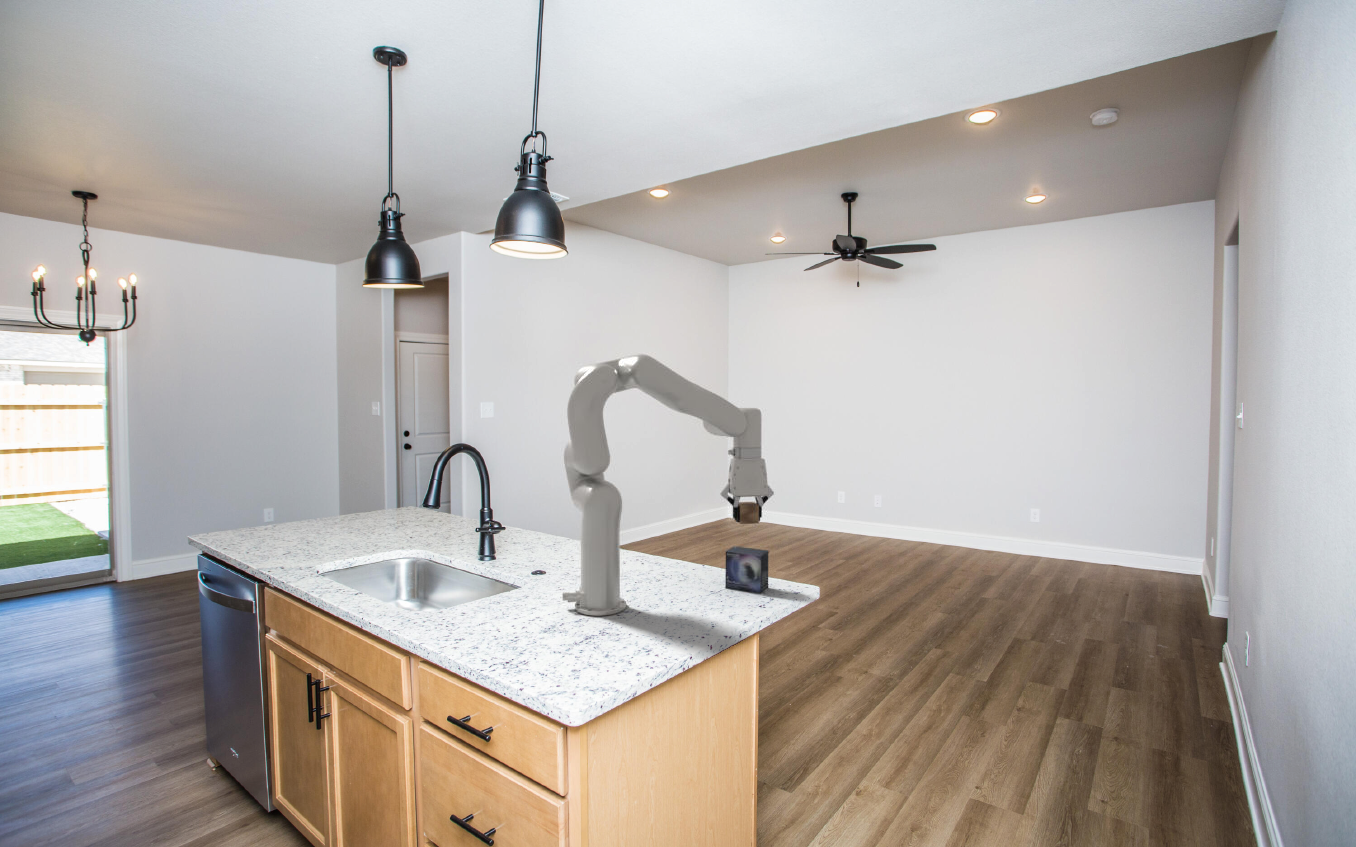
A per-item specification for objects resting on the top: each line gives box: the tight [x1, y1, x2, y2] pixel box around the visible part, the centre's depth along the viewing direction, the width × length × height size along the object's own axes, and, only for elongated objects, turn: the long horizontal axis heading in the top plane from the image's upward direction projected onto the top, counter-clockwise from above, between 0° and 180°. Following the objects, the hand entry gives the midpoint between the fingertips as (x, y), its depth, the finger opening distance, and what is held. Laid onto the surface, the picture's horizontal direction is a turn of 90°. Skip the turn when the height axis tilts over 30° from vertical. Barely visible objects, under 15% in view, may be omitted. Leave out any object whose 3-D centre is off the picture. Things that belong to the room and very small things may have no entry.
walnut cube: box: [738, 501, 760, 525], centre depth 177 cm, size 5×5×5 cm
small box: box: [724, 545, 770, 595], centre depth 178 cm, size 11×6×10 cm, turn 62°
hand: (747, 520), depth 177 cm, fingers closed on walnut cube, 5 cm apart
